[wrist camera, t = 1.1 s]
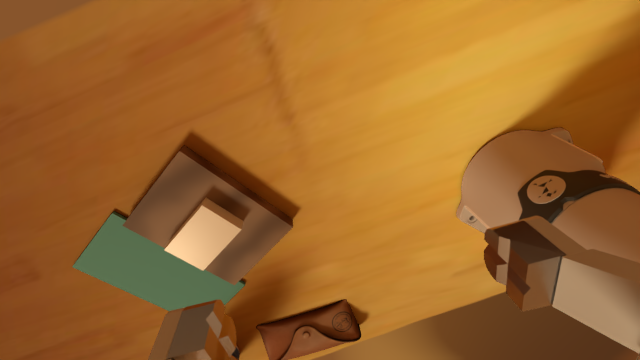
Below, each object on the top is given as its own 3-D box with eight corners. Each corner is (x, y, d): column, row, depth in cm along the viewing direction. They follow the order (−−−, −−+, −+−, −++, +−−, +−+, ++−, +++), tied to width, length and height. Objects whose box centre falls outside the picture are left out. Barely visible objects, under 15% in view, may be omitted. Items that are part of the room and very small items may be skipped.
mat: (245, 282, 50) (245, 285, 50) (203, 323, 54) (203, 326, 53) (113, 211, 42) (112, 213, 42) (74, 264, 45) (72, 266, 45)
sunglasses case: (347, 296, 54) (359, 337, 50) (353, 302, 60) (363, 339, 56) (252, 326, 55) (257, 368, 51) (266, 329, 61) (272, 367, 57)
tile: (243, 221, 43) (241, 229, 41) (206, 261, 45) (203, 270, 43) (205, 197, 40) (202, 205, 39) (169, 240, 43) (164, 250, 41)
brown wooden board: (292, 219, 46) (292, 227, 44) (236, 276, 49) (234, 285, 48) (184, 145, 39) (179, 150, 37) (128, 217, 43) (122, 225, 41)
